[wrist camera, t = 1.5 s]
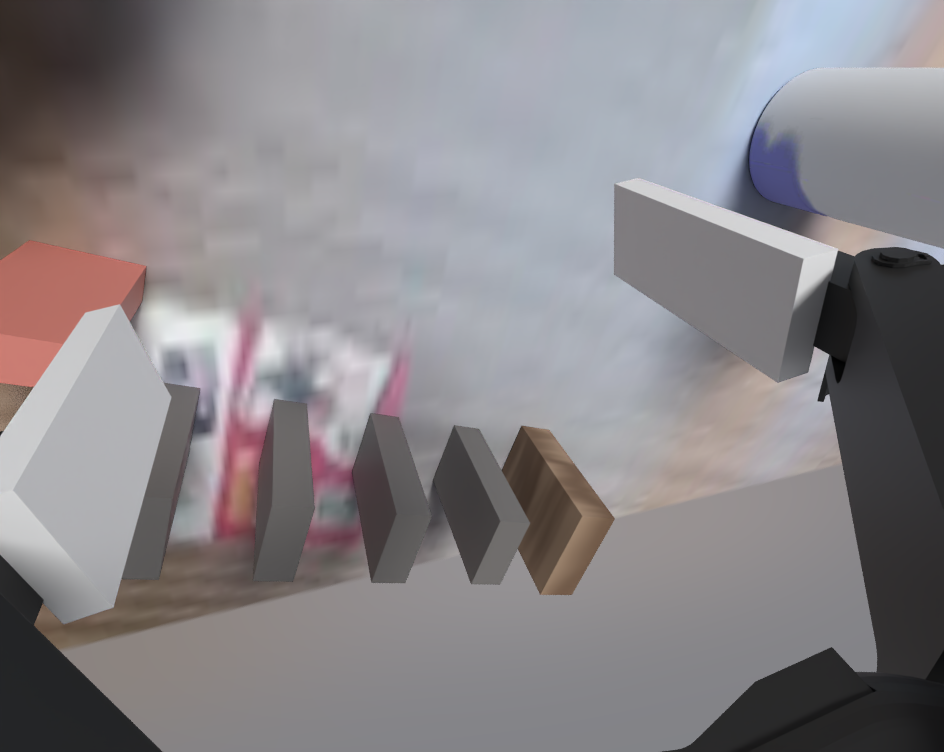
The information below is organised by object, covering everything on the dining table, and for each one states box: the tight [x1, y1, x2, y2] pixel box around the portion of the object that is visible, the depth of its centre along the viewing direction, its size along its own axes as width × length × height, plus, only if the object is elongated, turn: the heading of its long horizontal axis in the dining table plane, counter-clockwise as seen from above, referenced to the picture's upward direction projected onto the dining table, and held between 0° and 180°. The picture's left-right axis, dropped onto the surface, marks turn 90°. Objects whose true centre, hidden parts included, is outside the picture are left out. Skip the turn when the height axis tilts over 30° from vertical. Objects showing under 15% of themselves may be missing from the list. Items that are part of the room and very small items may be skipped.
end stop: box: [502, 426, 615, 595], centre depth 47 cm, size 3×8×12 cm, turn 159°
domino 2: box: [253, 399, 315, 582], centre depth 38 cm, size 2×6×12 cm, turn 159°
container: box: [749, 68, 944, 249], centre depth 36 cm, size 10×10×20 cm
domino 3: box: [352, 413, 432, 583], centre depth 41 cm, size 2×6×12 cm, turn 159°
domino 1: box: [121, 383, 200, 580], centre depth 35 cm, size 2×6×12 cm, turn 159°
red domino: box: [0, 240, 146, 387], centre depth 29 cm, size 2×6×12 cm, turn 69°
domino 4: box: [433, 425, 530, 585], centre depth 44 cm, size 2×6×12 cm, turn 159°
